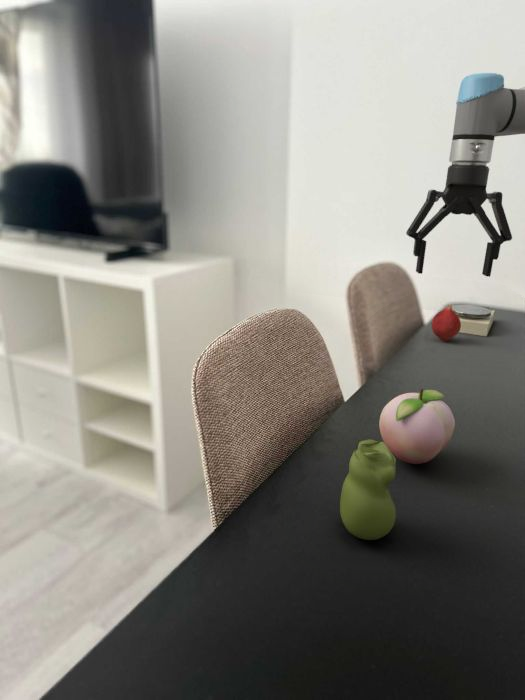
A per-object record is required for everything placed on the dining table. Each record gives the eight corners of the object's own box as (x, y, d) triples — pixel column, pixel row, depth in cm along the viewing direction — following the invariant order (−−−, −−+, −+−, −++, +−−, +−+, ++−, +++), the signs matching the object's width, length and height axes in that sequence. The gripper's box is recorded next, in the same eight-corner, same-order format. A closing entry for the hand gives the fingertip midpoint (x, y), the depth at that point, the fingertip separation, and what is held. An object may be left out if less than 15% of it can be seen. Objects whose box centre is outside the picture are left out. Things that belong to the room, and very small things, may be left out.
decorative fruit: (396, 437, 69) (404, 368, 66) (456, 459, 64) (468, 386, 61) (361, 465, 63) (368, 390, 59) (425, 491, 58) (436, 411, 54)
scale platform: (452, 305, 126) (452, 302, 125) (492, 311, 122) (493, 307, 121) (445, 314, 118) (446, 310, 118) (488, 319, 114) (489, 316, 114)
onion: (430, 344, 109) (435, 307, 106) (428, 336, 114) (433, 301, 111) (459, 346, 107) (465, 309, 105) (456, 338, 113) (461, 303, 110)
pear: (332, 516, 53) (339, 430, 50) (382, 514, 54) (392, 428, 50) (346, 553, 48) (354, 460, 45) (401, 551, 48) (413, 458, 45)
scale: (452, 316, 130) (454, 302, 129) (492, 322, 126) (495, 308, 125) (441, 330, 119) (444, 315, 117) (486, 337, 114) (489, 321, 113)
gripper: (407, 162, 96) (394, 274, 103) (544, 166, 94) (521, 280, 101) (400, 163, 103) (388, 268, 110) (527, 166, 102) (507, 273, 108)
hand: (452, 274), depth 106 cm, fingers open, 13 cm apart
